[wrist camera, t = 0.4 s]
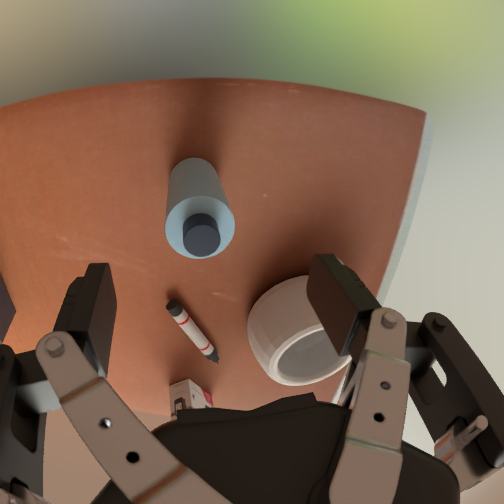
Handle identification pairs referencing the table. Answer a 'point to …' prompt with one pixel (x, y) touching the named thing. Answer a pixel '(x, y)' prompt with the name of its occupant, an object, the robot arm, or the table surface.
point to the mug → (291, 336)
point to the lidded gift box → (5, 310)
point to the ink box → (188, 397)
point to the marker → (191, 330)
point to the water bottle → (197, 210)
